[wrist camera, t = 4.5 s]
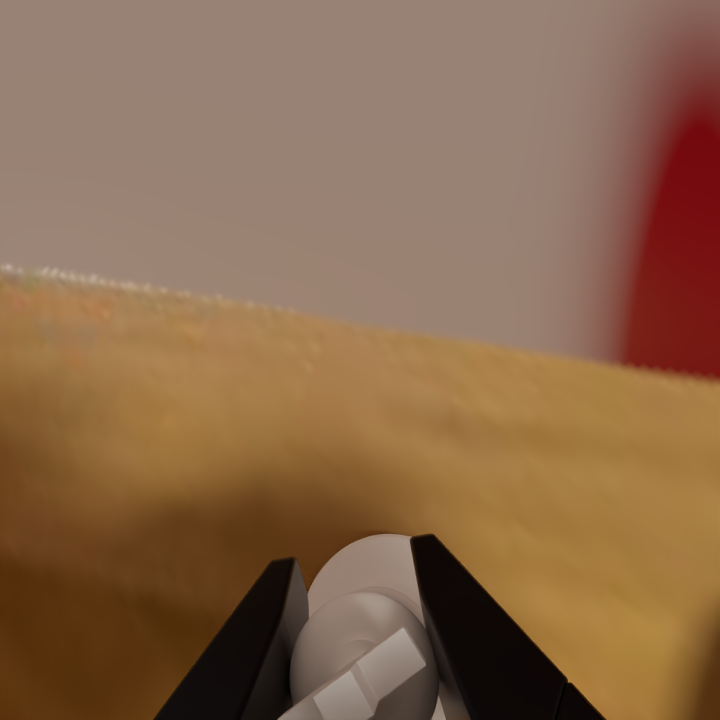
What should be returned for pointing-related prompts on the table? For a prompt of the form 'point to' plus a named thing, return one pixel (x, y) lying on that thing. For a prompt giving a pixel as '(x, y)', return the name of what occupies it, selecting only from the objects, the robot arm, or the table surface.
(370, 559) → the chess piece
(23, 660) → the table surface
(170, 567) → the table surface
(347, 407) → the table surface
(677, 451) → the table surface
